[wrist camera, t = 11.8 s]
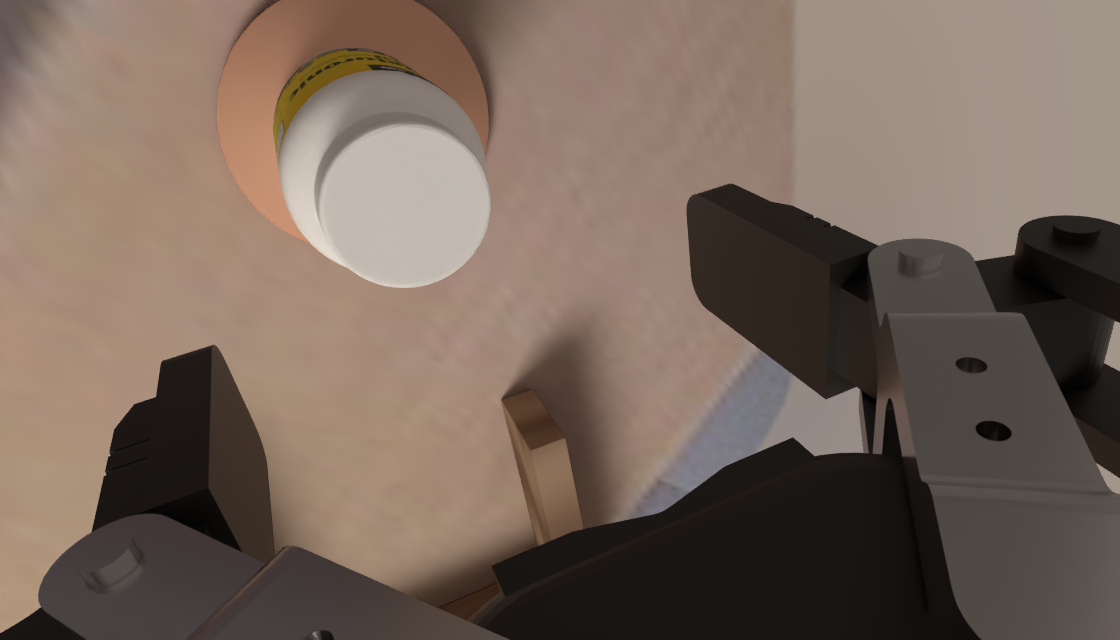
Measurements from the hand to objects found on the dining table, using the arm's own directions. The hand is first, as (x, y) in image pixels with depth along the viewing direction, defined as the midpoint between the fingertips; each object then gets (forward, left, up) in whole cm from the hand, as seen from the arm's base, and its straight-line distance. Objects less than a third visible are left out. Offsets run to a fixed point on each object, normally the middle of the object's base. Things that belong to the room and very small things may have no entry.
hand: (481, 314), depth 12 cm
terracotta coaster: (0, 0, -16) cm, 16 cm away
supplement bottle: (0, 0, -16) cm, 16 cm away
